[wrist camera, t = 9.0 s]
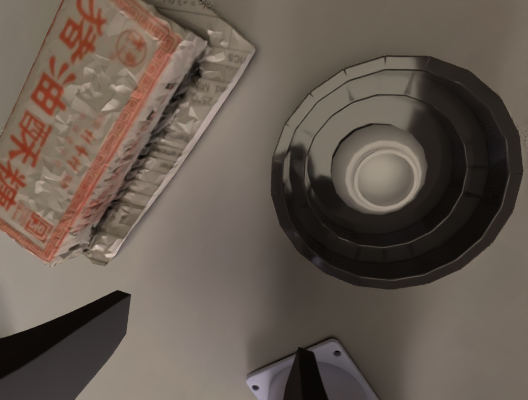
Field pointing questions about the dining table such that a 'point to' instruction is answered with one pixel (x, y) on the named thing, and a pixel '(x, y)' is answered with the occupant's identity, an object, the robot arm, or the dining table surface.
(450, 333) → the dining table surface
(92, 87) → the packaged product
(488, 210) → the bowl
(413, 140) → the white jar
